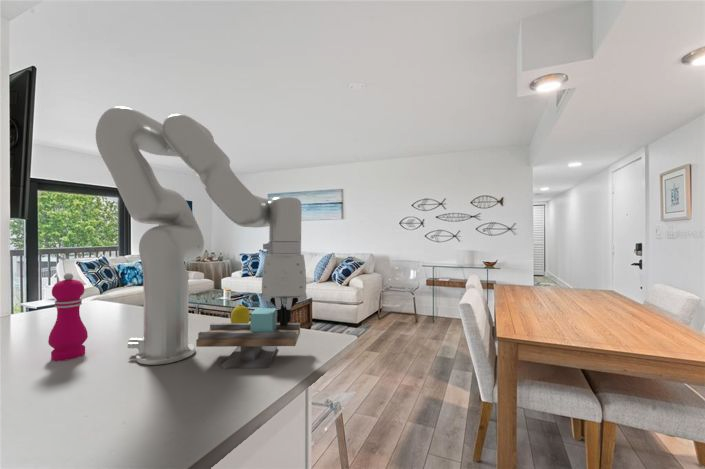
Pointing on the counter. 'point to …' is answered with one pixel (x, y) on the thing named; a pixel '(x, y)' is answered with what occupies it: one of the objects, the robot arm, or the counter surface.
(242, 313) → the lemon
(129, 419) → the counter surface
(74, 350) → the pepper mill
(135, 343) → the robot arm
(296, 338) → the wooden tray
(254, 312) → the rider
